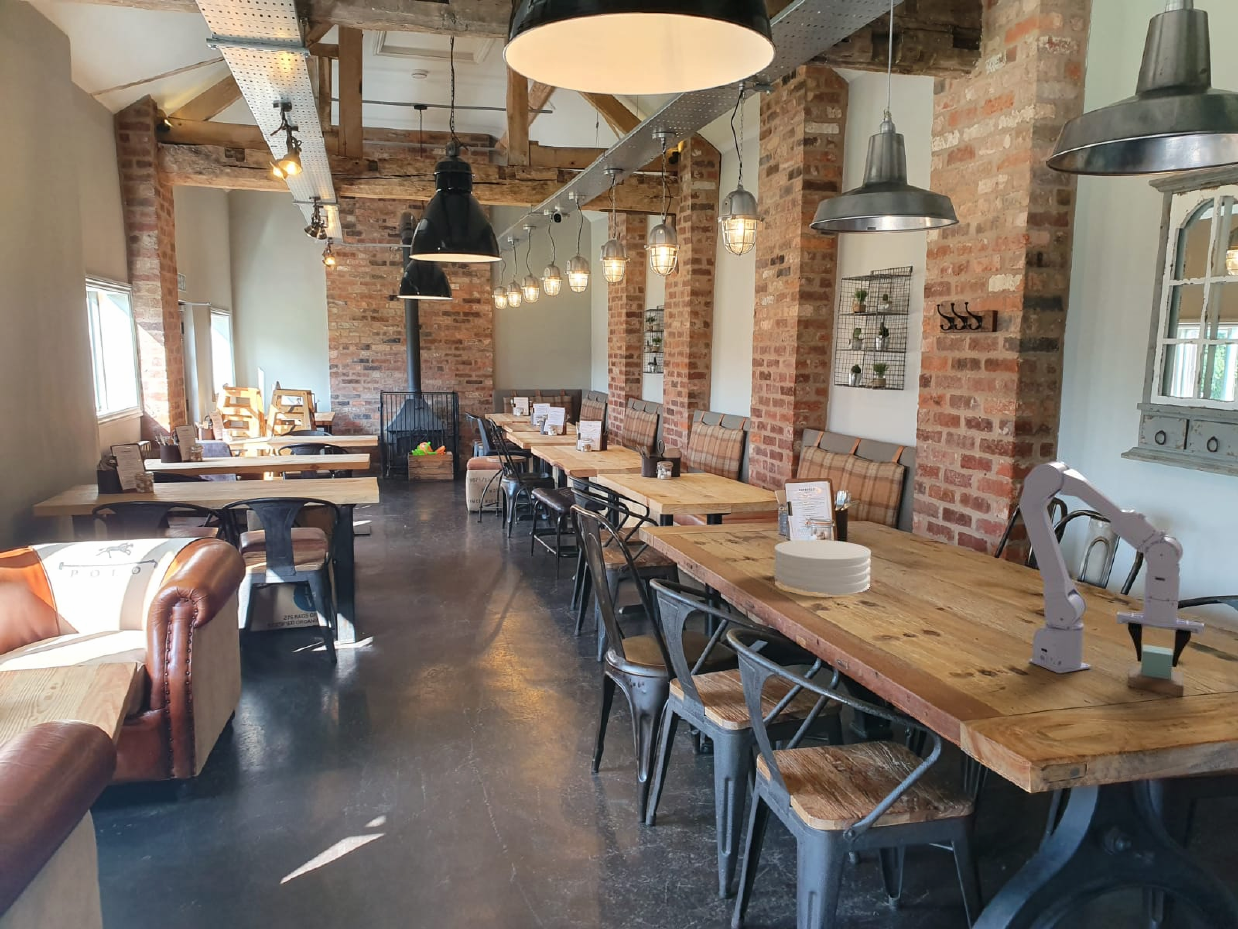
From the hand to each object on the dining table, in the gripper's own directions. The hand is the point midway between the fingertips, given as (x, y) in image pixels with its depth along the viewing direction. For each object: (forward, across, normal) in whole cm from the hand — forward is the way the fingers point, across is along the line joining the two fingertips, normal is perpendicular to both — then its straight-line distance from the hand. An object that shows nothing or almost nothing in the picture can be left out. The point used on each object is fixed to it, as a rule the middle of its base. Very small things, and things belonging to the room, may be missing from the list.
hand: (1156, 663), depth 164 cm
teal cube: (+2, 0, 0) cm, 2 cm away
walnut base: (+4, 0, 0) cm, 4 cm away
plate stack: (+5, +84, -40) cm, 94 cm away
